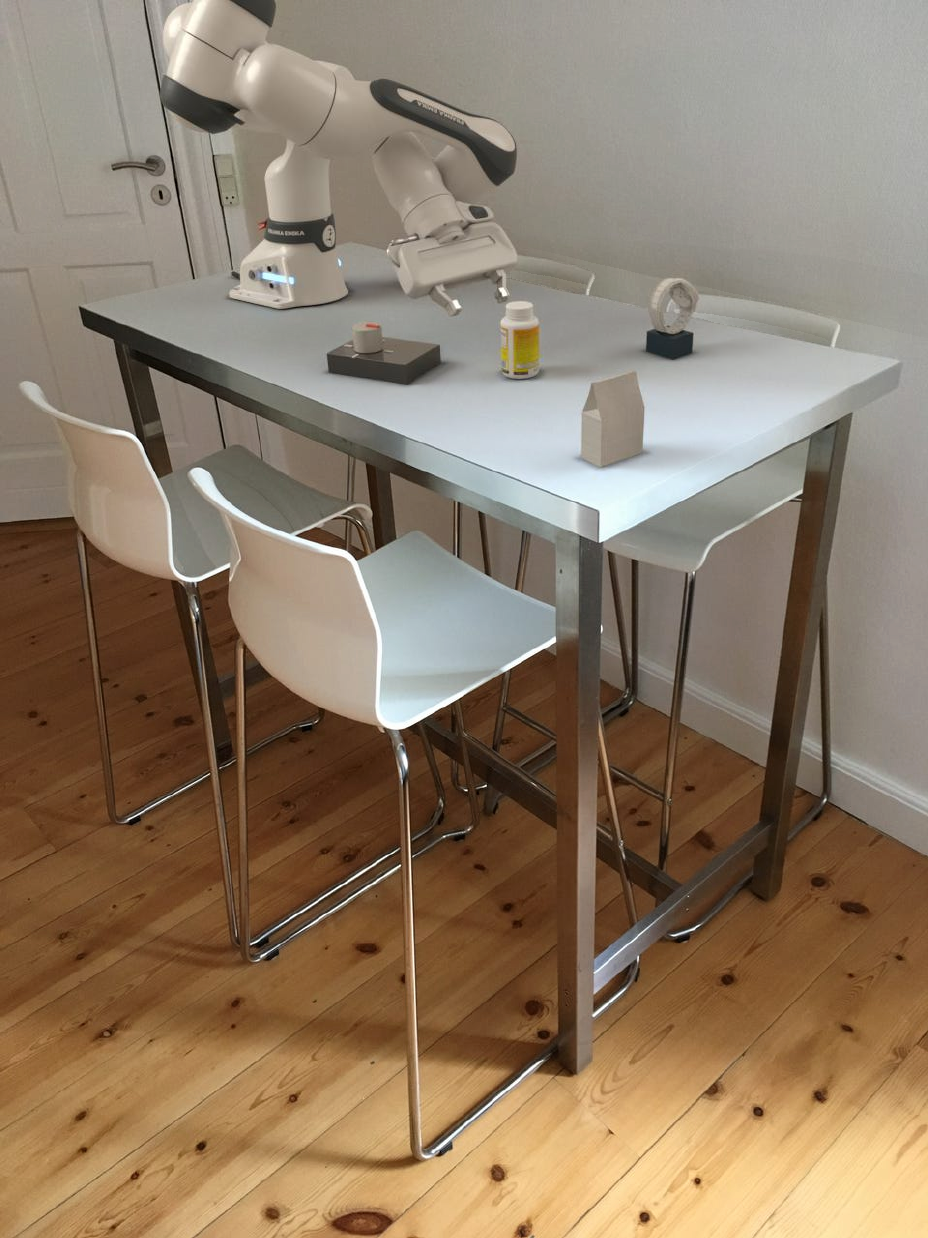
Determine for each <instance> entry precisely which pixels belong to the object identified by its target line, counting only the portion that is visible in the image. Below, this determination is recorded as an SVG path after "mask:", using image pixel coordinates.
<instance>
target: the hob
mask: <svg viewBox="0 0 928 1238" xmlns="http://www.w3.org/2000/svg"><path fill="white" fill-rule="evenodd" d="M382 339H383V349H382V350H381V351H378V352H375V353H358V352H356V351H354V344H353V339H351V340H349V341H347V342H345V343H343V344H342V345H339V346H338V347H336V348H334V349H331V350H330V351H328V352H327V353H326V362H327V370H328V371H327V372H328V373H330V374H336V375H343V376H349V377H356V378H363V379H370V380H375V381H382V382H387V383H388V382H389V383H394V384H400V385H401V384H402V385H410V383H412V382H414V381H415V380H416V379H417V380H418V378H420V377H422V376H423V375H425V374H427V373H429V372H430V371H432V370H433V369H435V368H436V367H438V366H439V365H441V364H442V359H441V344H438V343H431V342H424V341H415V340H409V339H401V338H393V337H385V336H382Z"/></svg>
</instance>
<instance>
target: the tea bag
mask: <svg viewBox="0 0 928 1238" xmlns="http://www.w3.org/2000/svg"><path fill="white" fill-rule="evenodd" d="M589 387H590V388H589V391H588V395H587V397H586V399H585V403H584V406H583V408H582V411H581V427H580V428H581V430H580V431H581V433H580V437H581V438H580V458H581V459H582V460H584V461H586V462H588V463H591V464H593V466H597V467H598V468H604V467H606V466H609V465H611V464H616V463H618V462H621V461H625V460H627V459H629V458H632V457H635V456H638V455H641V454H643V448H644V429H645V427H644V426H645V410H646V409H645V408H646V407H645V403H644V400H643V396H642V392H641V389H640V384H639V380H638V372H637V371H636V370H630V371H629V372H624V373H621V374H618V375H614V376H611V377H607V378H604V379H601V380H597V381H594V382H591V383H590V386H589Z"/></svg>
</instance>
